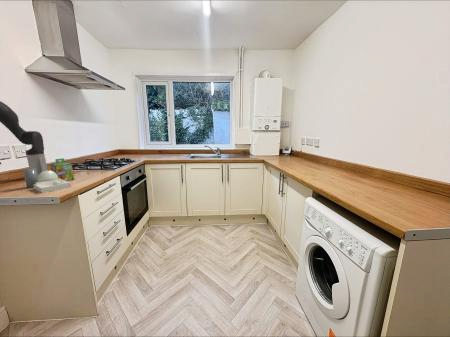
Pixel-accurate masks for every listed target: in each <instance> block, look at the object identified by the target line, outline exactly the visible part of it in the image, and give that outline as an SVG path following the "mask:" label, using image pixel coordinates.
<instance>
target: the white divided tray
mask: <svg viewBox="0 0 450 337" xmlns="http://www.w3.org/2000/svg"><path fill="white" fill-rule="evenodd" d="M71 184H72V183H71V181H65V180H62V179H60V178H58V176H57V174H56V173H55V172H53V171H52V170H48V171H43V172H41V173H40V174H39V175H38V182H35V184H33V186H34V188H33V189H34V190H35V191H37V192H39V193H41V194H45V193H49V191H50V192H53V191H54V192H55V191H59V190H64V189H68V188H71V187H72V185H71Z"/></svg>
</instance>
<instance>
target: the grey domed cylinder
mask: <svg viewBox="0 0 450 337" xmlns="http://www.w3.org/2000/svg"><path fill="white" fill-rule="evenodd" d="M22 171H23V172H22V173H23V176H24V180H25V185H26V188H27V189H34V186H33V184H35V182H38V177H37V172H36V168H31V169H29V168H25V169H22Z"/></svg>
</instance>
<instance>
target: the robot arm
mask: <svg viewBox="0 0 450 337" xmlns="http://www.w3.org/2000/svg"><path fill="white" fill-rule="evenodd" d="M19 122H20V120H19V116H18V114H17V113H16V112H15V111H14V110H13V109H12V108H11V107H10V106H9V105H8V104H6V103H5V102H3V101H1V100H0V123H1V124H2V126H4V127H5V128H6V129H7V130H9V131H10V133H12V135H13V136H14V137H15V138H17V140H18V141H19V142H20V143H21V144H22V145H27V146H28V145H29V146H31V147H30V148H29V149H26V151H25V155H26V159H27V163H28V169H31V168H36V172H37V177H38V175H39V174H40V173H41V172H43V171H49V170H48V166H47V165H48V164H47V161H46V157H45V156H46V155H45V146H44V145H45V144H44V139H43V138H44V137H43V135H42V134H41V132H39V131H37V130H33V131H32V130H30V131H29V130H24V129H23V128H22V127H21V125H20V123H19ZM0 165H2V162H0Z"/></svg>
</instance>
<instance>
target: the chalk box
mask: <svg viewBox="0 0 450 337" xmlns="http://www.w3.org/2000/svg"><path fill="white" fill-rule="evenodd" d="M59 161H61V162H59ZM50 168H51V171H53V172H55V173H56V174H57V176H58V178H60V179H62V180H65V181H68V182H71V181H74V180H75V176H74V170H73V164H72V163H70V162H66V161H65V159H64V158H63V157H62V158H56V159H55V163H51V164H50Z"/></svg>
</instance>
